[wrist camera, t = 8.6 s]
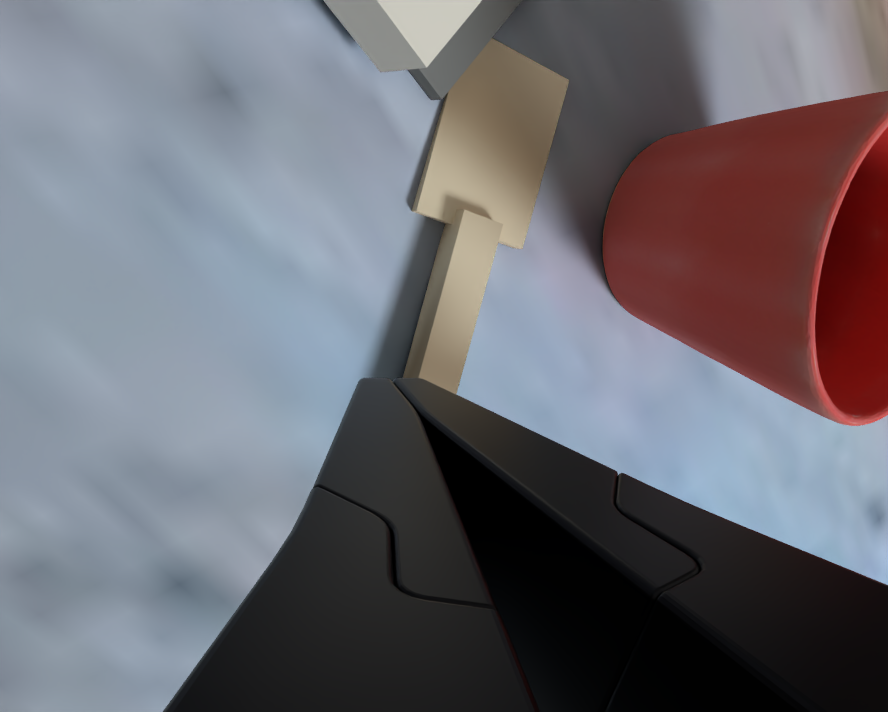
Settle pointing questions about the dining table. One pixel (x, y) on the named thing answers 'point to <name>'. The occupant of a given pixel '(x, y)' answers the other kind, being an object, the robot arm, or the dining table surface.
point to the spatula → (480, 194)
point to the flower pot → (767, 250)
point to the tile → (402, 28)
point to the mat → (463, 47)
